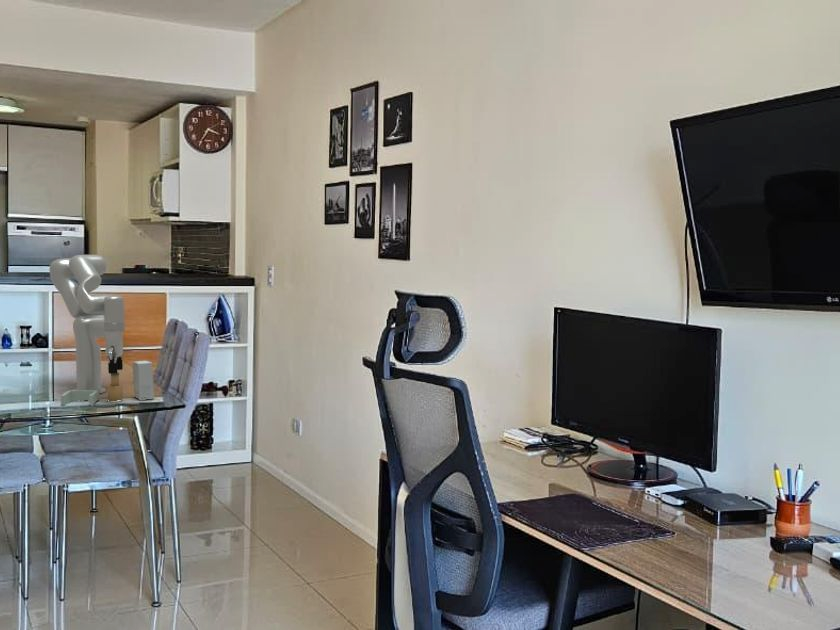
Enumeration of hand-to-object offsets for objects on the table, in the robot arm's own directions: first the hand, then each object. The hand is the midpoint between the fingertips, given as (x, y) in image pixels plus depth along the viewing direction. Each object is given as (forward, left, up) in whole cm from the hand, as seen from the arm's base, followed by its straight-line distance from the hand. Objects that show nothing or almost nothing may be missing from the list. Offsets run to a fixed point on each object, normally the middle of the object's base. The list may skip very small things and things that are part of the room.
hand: (115, 371), depth 348 cm
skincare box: (-5, +10, -12) cm, 16 cm away
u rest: (+4, -12, -12) cm, 18 cm away
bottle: (-1, 0, -12) cm, 12 cm away
